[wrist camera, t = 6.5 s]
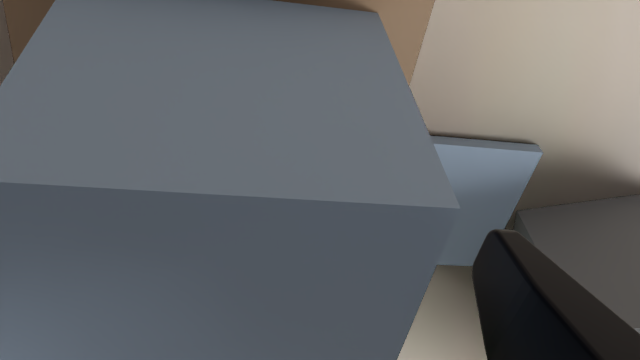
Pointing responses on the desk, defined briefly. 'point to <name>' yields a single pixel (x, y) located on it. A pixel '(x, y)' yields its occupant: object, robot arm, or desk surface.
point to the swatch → (482, 189)
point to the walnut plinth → (390, 3)
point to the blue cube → (214, 185)
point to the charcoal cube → (593, 247)
